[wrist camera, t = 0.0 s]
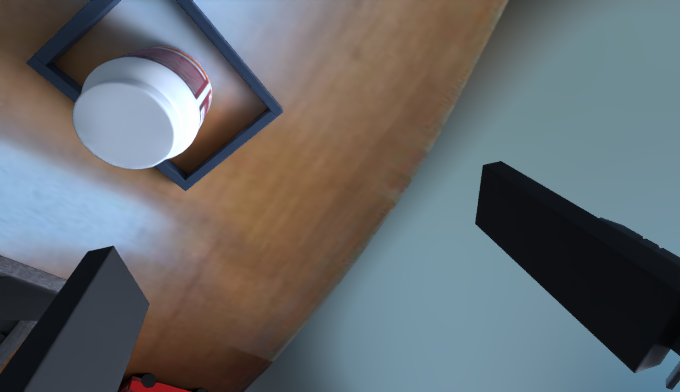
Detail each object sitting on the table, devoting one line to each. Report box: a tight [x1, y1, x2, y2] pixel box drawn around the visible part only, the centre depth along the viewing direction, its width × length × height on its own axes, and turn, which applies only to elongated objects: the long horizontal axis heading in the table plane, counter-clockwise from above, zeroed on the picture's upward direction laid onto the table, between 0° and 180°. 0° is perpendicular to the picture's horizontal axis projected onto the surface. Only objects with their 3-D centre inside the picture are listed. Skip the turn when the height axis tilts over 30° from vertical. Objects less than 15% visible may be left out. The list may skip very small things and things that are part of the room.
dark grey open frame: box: [26, 0, 283, 191], centre depth 25 cm, size 14×12×1 cm
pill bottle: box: [72, 46, 212, 169], centre depth 21 cm, size 6×6×11 cm
